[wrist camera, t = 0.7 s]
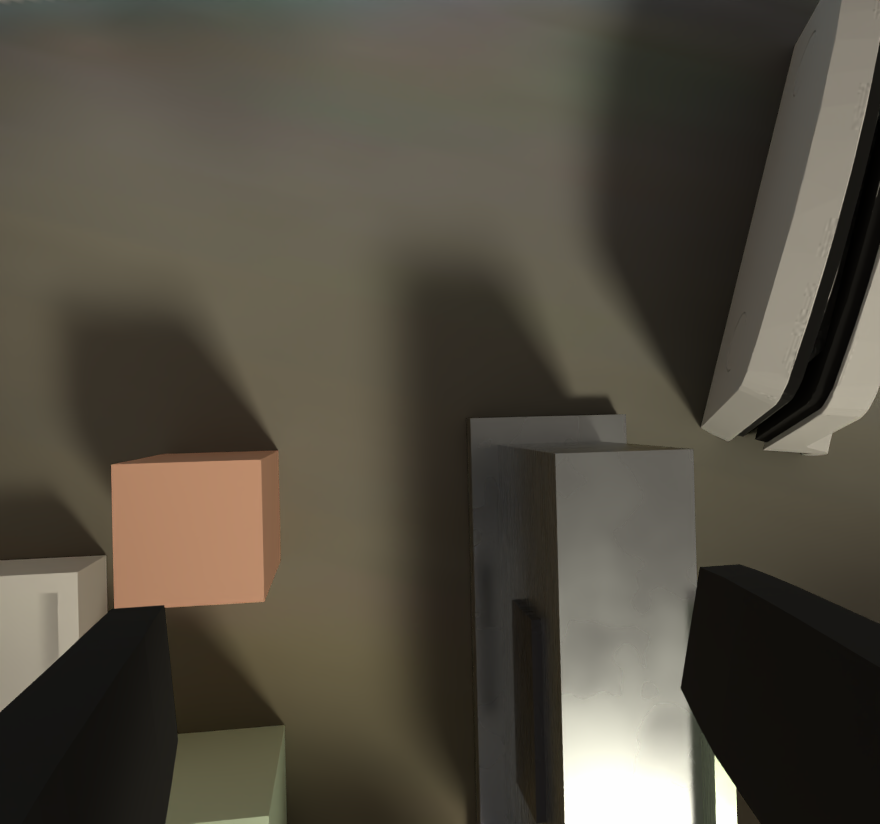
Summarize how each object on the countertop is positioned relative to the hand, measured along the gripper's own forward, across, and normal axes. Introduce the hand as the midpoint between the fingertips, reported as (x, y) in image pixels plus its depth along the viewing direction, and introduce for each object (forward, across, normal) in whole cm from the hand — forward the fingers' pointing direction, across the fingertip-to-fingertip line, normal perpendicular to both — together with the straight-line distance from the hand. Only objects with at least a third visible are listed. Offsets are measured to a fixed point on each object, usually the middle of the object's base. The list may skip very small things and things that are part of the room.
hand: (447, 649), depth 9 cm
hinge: (+19, -17, -4) cm, 26 cm away
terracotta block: (+16, +5, +5) cm, 18 cm away
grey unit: (+14, -7, +11) cm, 19 cm away
